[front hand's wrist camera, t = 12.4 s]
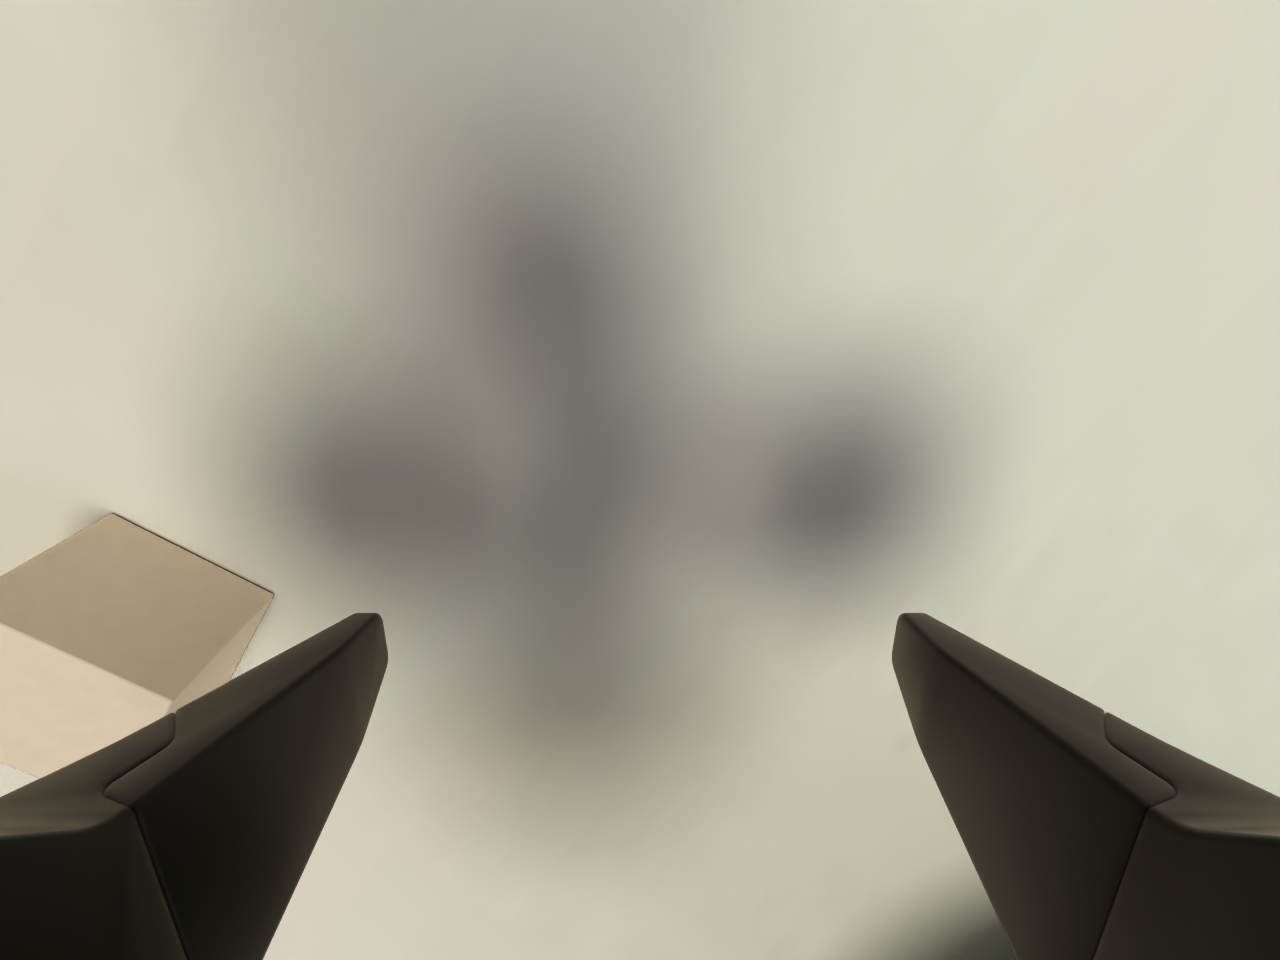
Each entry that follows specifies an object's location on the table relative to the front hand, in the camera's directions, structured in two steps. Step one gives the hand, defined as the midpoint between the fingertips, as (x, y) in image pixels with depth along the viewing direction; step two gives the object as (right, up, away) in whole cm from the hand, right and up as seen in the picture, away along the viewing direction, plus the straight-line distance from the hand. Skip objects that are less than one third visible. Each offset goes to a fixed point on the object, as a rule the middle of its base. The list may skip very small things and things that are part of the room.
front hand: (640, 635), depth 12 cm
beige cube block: (-14, -1, +9) cm, 17 cm away
